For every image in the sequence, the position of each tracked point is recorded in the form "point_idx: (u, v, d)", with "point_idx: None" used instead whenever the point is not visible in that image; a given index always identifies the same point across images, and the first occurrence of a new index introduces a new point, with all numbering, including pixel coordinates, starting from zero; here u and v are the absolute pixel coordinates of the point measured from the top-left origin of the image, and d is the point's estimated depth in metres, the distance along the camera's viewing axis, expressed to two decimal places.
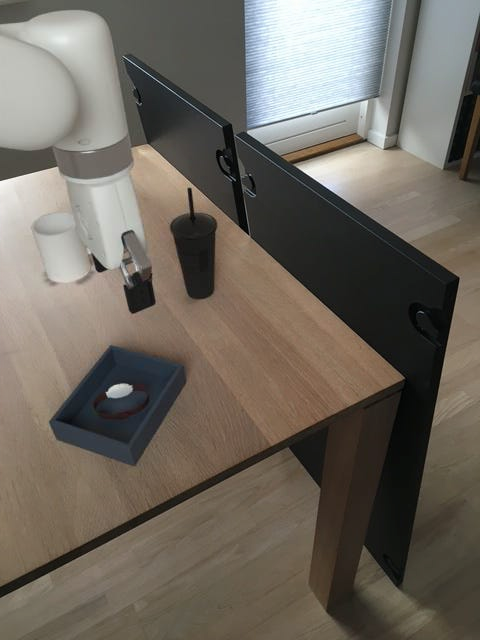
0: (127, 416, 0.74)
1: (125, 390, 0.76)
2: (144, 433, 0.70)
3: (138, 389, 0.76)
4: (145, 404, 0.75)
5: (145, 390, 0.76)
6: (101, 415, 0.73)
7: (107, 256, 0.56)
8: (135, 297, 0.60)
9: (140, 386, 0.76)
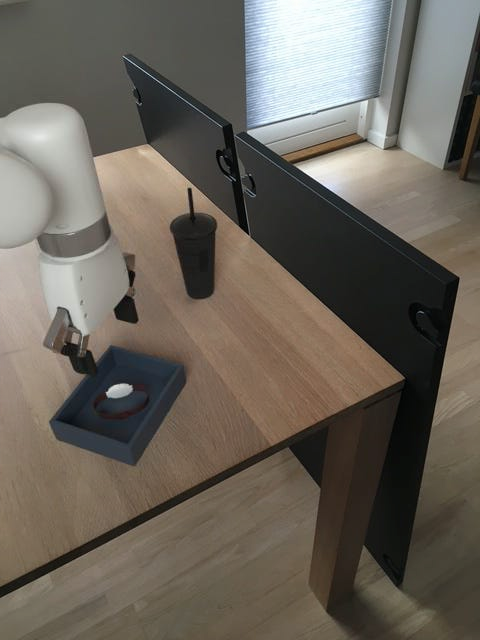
0: (127, 416, 0.74)
1: (125, 390, 0.76)
2: (144, 433, 0.70)
3: (138, 389, 0.76)
4: (145, 404, 0.75)
5: (145, 390, 0.76)
6: (101, 415, 0.73)
7: None
8: None
9: (140, 386, 0.76)
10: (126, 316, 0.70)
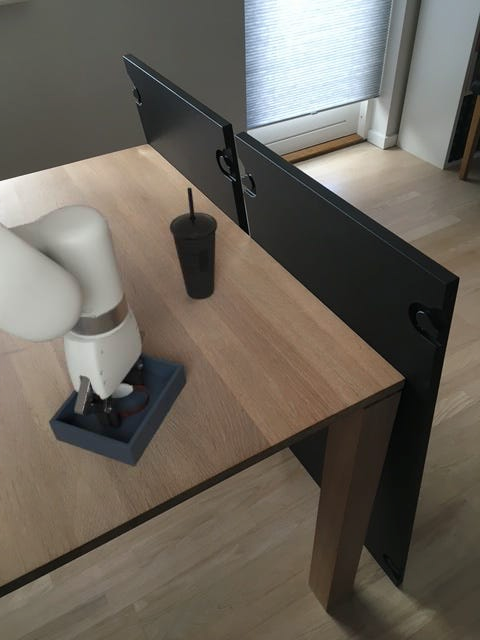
0: (127, 416, 0.74)
1: (125, 390, 0.76)
2: (144, 433, 0.70)
3: (138, 389, 0.76)
4: (145, 404, 0.75)
5: (145, 390, 0.76)
6: None
7: None
8: None
9: (140, 386, 0.76)
10: None
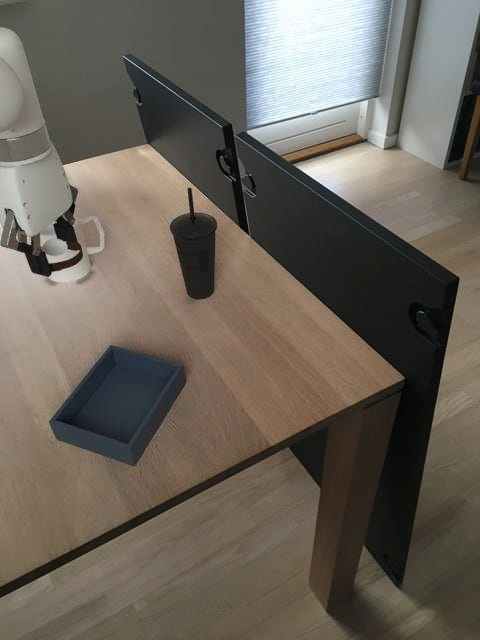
0: (59, 268, 0.77)
1: (60, 246, 0.79)
2: (144, 433, 0.70)
3: (73, 247, 0.79)
4: (78, 259, 0.78)
5: (79, 247, 0.79)
6: None
7: None
8: None
9: (74, 243, 0.79)
10: None
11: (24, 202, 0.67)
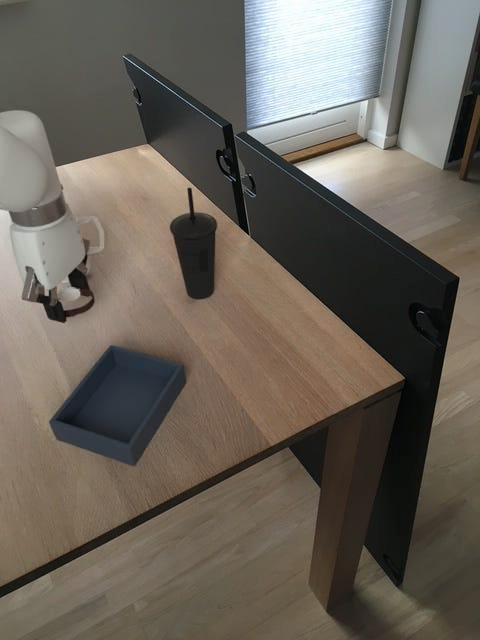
0: (73, 314, 0.84)
1: (73, 293, 0.86)
2: (144, 433, 0.70)
3: (85, 293, 0.86)
4: (90, 305, 0.85)
5: (91, 294, 0.86)
6: None
7: None
8: None
9: (86, 290, 0.86)
10: None
11: (43, 261, 0.74)
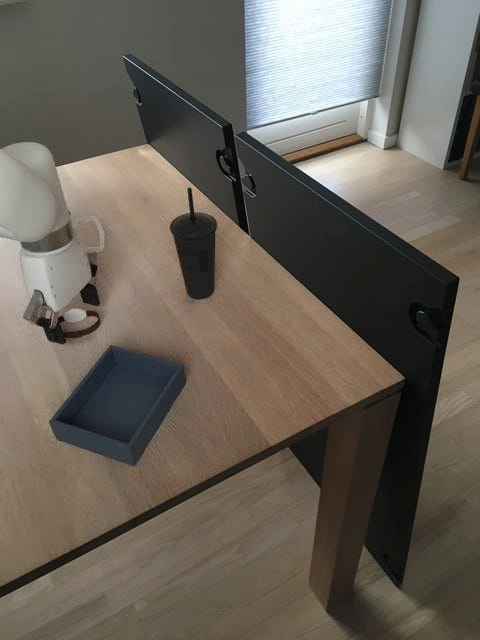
0: (80, 335, 0.87)
1: (80, 314, 0.89)
2: (144, 433, 0.70)
3: (91, 314, 0.89)
4: (96, 326, 0.88)
5: (97, 315, 0.89)
6: None
7: None
8: None
9: (92, 311, 0.89)
10: (90, 300, 0.90)
11: (52, 284, 0.77)
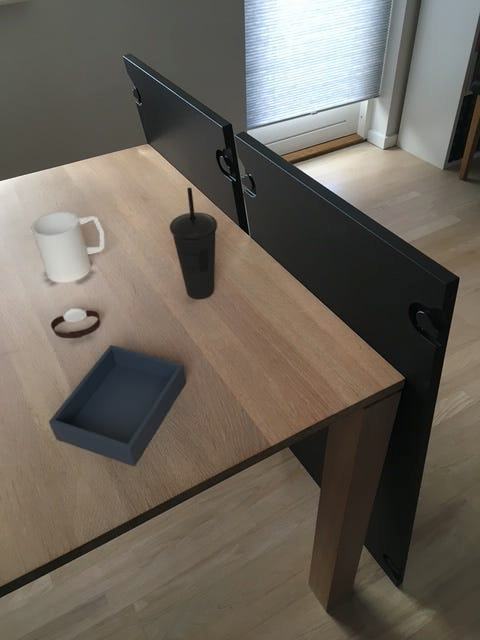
0: (80, 335, 0.87)
1: (80, 314, 0.89)
2: (144, 433, 0.70)
3: (91, 314, 0.89)
4: (96, 326, 0.88)
5: (97, 315, 0.89)
6: (58, 333, 0.87)
7: None
8: None
9: (92, 311, 0.89)
10: None
11: None
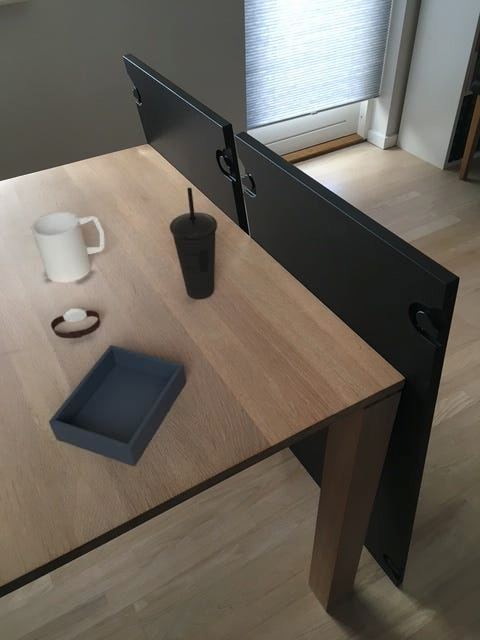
0: (80, 335, 0.87)
1: (80, 314, 0.89)
2: (144, 433, 0.70)
3: (91, 314, 0.89)
4: (96, 326, 0.88)
5: (97, 315, 0.89)
6: (58, 333, 0.87)
7: None
8: None
9: (92, 311, 0.89)
10: None
11: None
